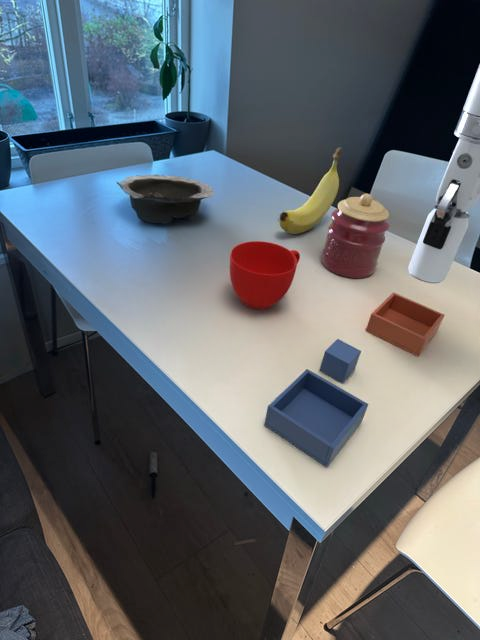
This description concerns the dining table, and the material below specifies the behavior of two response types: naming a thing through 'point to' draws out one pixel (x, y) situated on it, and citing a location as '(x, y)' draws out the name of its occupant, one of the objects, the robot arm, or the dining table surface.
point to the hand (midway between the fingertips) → (439, 238)
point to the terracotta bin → (404, 323)
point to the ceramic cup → (262, 272)
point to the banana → (313, 203)
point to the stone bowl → (164, 196)
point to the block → (340, 360)
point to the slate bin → (315, 416)
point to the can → (438, 250)
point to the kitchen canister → (355, 237)
